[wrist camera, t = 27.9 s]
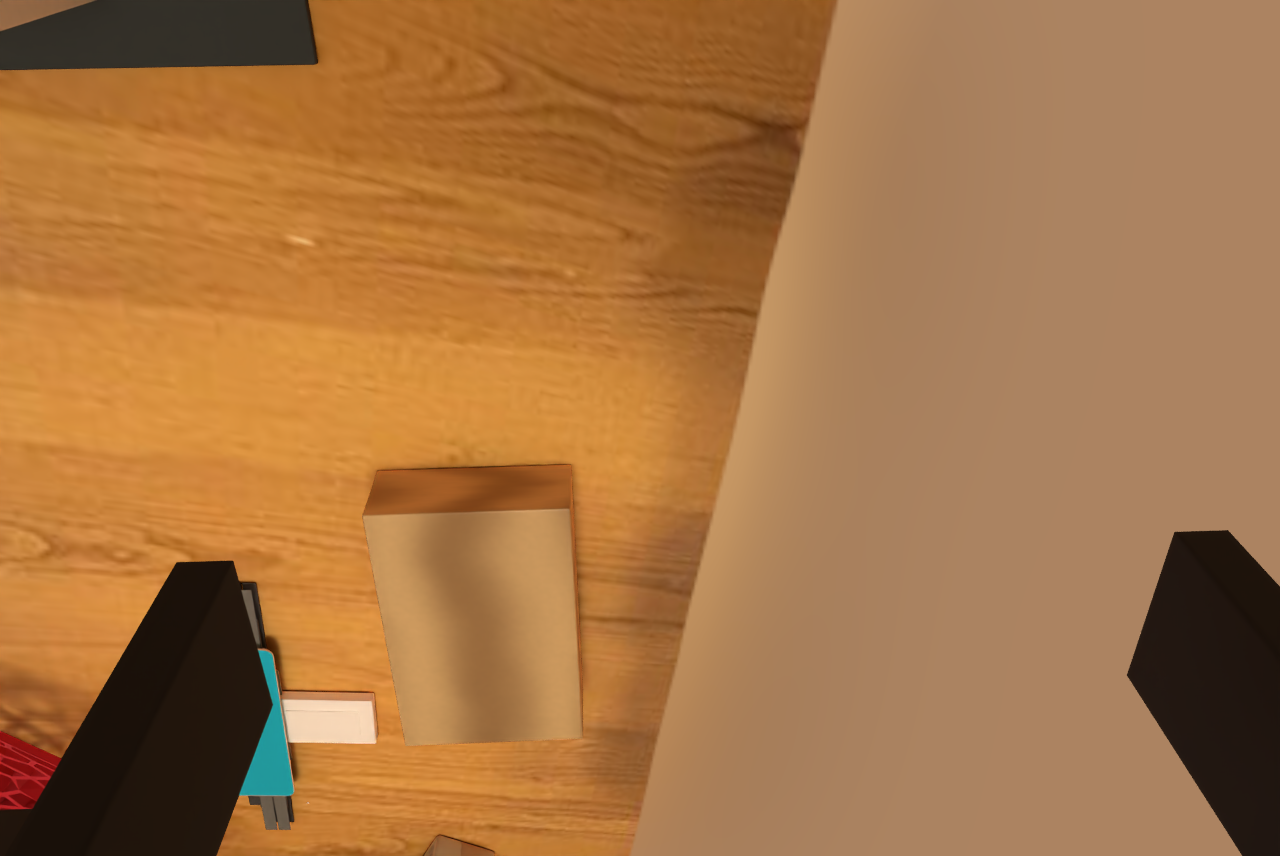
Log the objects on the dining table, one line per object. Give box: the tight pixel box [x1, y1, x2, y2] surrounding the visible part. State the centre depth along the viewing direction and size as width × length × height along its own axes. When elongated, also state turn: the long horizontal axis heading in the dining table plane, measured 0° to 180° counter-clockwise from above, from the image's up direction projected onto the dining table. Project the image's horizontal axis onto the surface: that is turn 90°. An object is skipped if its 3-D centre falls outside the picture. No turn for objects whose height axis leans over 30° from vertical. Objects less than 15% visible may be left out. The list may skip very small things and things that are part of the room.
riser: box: [362, 465, 583, 746], centre depth 53 cm, size 10×16×4 cm, turn 0°
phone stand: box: [239, 583, 378, 830], centre depth 58 cm, size 20×12×2 cm, turn 176°
